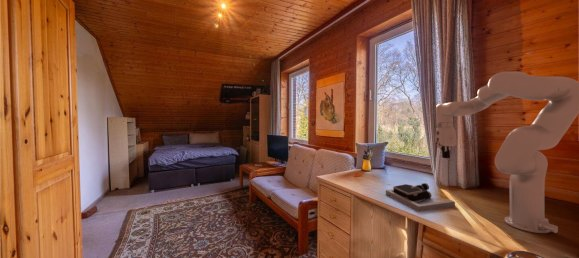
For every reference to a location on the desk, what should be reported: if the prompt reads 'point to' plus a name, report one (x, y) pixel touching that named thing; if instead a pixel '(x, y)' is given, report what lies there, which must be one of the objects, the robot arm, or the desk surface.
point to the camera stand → (421, 206)
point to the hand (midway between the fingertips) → (446, 157)
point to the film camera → (413, 192)
